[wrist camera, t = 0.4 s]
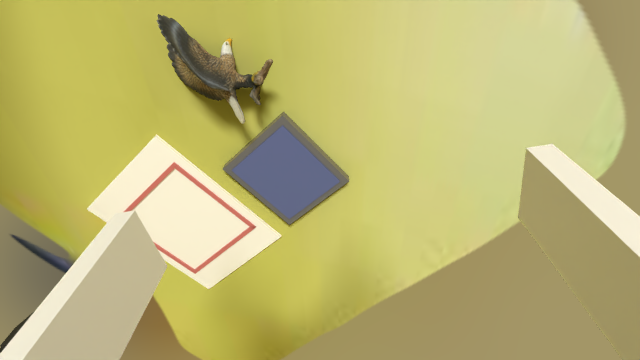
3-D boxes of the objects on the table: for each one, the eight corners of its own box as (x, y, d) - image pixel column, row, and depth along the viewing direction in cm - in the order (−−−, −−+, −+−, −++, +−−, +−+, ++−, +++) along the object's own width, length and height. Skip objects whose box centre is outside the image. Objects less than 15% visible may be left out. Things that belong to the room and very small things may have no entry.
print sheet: (88, 207, 42) (85, 209, 42) (156, 134, 37) (154, 136, 37) (209, 287, 49) (208, 290, 49) (281, 235, 44) (281, 237, 44)
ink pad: (224, 164, 39) (222, 170, 38) (283, 111, 35) (282, 116, 34) (290, 219, 43) (289, 225, 42) (348, 176, 39) (349, 182, 38)
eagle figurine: (278, 23, 30) (164, -14, 27) (270, 92, 27) (141, 59, 25) (259, 77, 37) (165, 52, 34) (251, 138, 34) (148, 116, 31)
